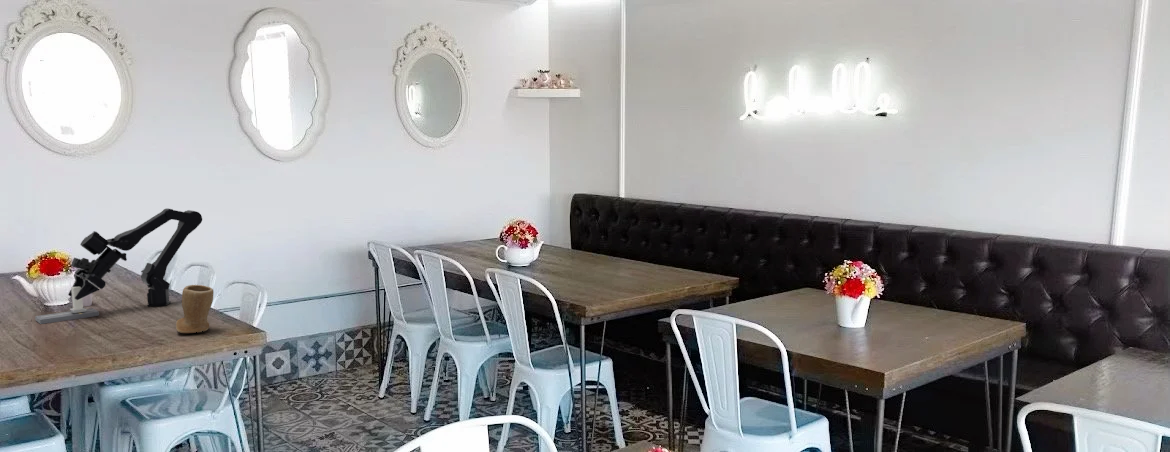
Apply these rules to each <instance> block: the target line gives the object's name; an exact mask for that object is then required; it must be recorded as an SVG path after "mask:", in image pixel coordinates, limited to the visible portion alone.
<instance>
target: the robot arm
mask: <svg viewBox="0 0 1170 452" xmlns="http://www.w3.org/2000/svg"><path fill="white" fill-rule="evenodd" d="M171 220H174V221H178V222H177V227H176V230H175V231H174V233H173V234H172V235H171V237H170V239H169V240H168V242H167V243H166V245H165V246H164V247H163V249H162V250H161V252H160V253H159V255H158V256H157V258H156V260H155V261H153V262H152V263H150V262H147V263H146V264H145V267H144V268H143V269H142V270H141V271H140V272H141V276H140V278H141V282H142V283H143V284H145V285H147V288H148V289H147V291H148V292H147V294H146V299H147V305H146V306H147V307H165V306H168V305H169V304H171V303H172V301H171V300H170V293H169V292H170V291H169V288H170V286H171V285H170V283H169V282H168V281H167V280H166V279H164V278H165V276H166V272H167V267H168V266H169V264H170V263H171V261H172V260H173V258H174V257H175V256H176V254H177V253H178V251H179V250H180V247H181V246H182V245H183V243H184V242H185V240H186V239H187V238H188V236H189V235H190V234H191V233H192V232H193V231H195V230H196V229H197V228H198V227H199V226H200V224H201V223H202V221H203V216H202V214H201V213H200V212H199V211H195V210H190V209H188V210H185V211H181V210H174V209H173V208H164V209H163V210H161V212H159V213H157V214H155V215H154V216H153V217H150V218H149V219H147V220H146V221H144V222H143V223H141V224H140V225H138V226H136V227H134V228H132V229H129V230H126V231H123V232H121V233H118V234H117V235H115V236H114V237H112V238H107V239H106V238H104V236H102V235H101V234H100V233H99V232H97V231H95V230H94V231H92V233H90V234H88V235H87V236H85V237H84V238H83V239H82V241H81V242H80V246H81V247H82V248H84V249H85V250H86V251H87V252H89V253H90V254H92V255H93V256H95V255H99V256H98V257H97V258H96V259H92V260H91V261H90V260H89V259H88V258H85V257H82V258H77V257H73V260H72V262H71V264H70V267H73V268H75V269H76V270H75V272H74V275H73V276H74V283H73V285H72V286H71V287H78V286H79V287H81V289H80V291H79V292H78V294H77V295H76V297H75V299H76V300H79V299H81V298H83V297H85V296H87V295H89V294H91V293H92V294H94V293H95V292H99V291H100V290H103V289H104V287H106V285H107V284H106V281H105V280H104V279H103V278H104V277H105V276H106V274H108V273H110V272H111V271H112V270H111V269H112V268H113V267H114V266H115V265H116V264H117V263H118V261H119V260H120V259H121V260H122V261H124V262H127V260H128V258H127V253H126V252H128V251H130V250H132V249H133V248H134V247H136V245H137V244H139V243H140V242H141V240H142V239H143V238H145V237H146V236H147V235H148V234H150V233H151V232H153V231H155V230H157V229H158V228H160V227H161V226H163V225H165V224H166V223H168V222H169V221H171ZM111 247H113V249H112V248H111ZM120 250H121V251H125V252H121V251H120ZM67 296H69V297H72V291H71V289H70V290H69V292H68V294H67Z"/></svg>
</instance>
